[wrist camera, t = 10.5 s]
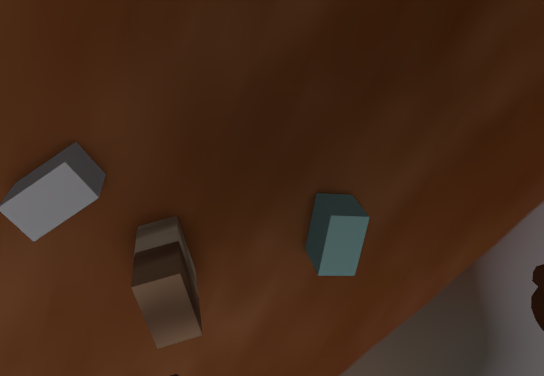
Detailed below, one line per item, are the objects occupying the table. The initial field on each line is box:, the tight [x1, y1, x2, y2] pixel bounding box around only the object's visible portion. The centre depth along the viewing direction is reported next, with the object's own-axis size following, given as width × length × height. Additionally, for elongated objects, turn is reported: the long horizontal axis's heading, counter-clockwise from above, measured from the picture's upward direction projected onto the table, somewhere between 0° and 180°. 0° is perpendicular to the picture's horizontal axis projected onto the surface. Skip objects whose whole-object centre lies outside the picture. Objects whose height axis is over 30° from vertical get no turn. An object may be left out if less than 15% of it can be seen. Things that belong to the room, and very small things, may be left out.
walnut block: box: [131, 241, 202, 349], centre depth 36 cm, size 6×4×4 cm, turn 12°
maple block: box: [134, 216, 198, 295], centre depth 40 cm, size 6×4×4 cm, turn 12°
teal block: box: [305, 193, 370, 276], centre depth 43 cm, size 6×4×4 cm, turn 172°
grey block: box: [0, 142, 106, 241], centre depth 36 cm, size 6×4×4 cm, turn 122°
